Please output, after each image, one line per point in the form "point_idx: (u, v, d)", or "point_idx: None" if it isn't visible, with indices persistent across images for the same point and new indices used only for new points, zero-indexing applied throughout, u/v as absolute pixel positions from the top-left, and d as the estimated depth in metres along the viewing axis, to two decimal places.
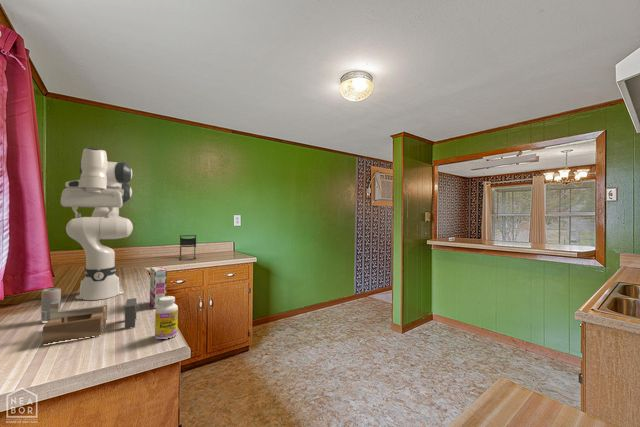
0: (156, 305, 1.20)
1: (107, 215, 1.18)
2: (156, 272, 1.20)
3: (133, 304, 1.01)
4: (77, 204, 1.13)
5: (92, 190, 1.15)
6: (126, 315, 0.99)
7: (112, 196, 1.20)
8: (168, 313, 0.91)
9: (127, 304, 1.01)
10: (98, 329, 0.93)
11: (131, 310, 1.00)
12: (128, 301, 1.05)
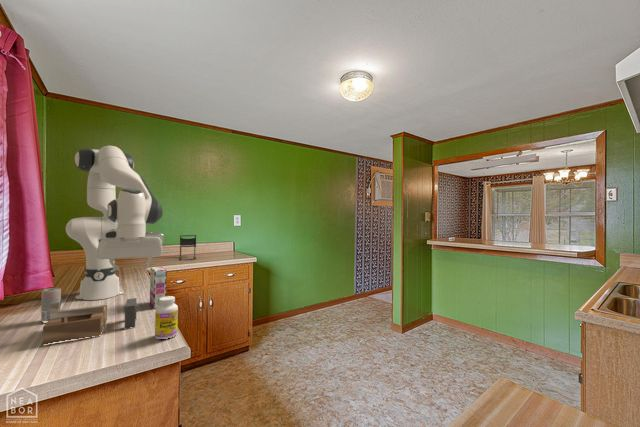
0: (156, 305, 1.20)
1: (147, 266, 1.06)
2: (156, 272, 1.20)
3: (133, 304, 1.01)
4: (115, 257, 1.00)
5: (131, 240, 1.01)
6: (126, 315, 0.99)
7: (152, 244, 1.06)
8: (168, 313, 0.91)
9: (127, 304, 1.01)
10: (98, 329, 0.93)
11: (131, 310, 1.00)
12: (128, 301, 1.05)
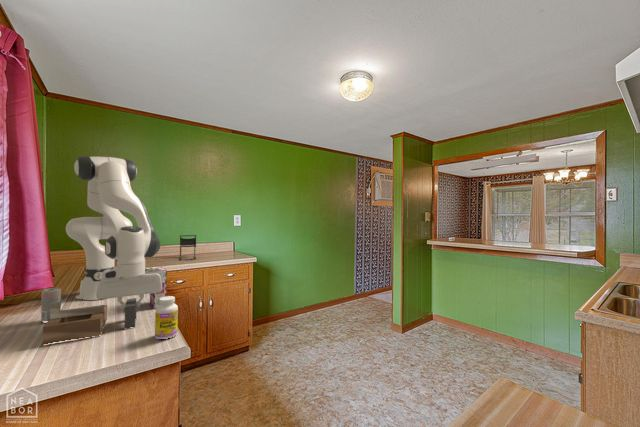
0: (156, 305, 1.20)
1: (138, 304, 1.04)
2: None
3: (133, 304, 1.01)
4: (114, 296, 1.00)
5: (130, 278, 1.01)
6: (126, 315, 0.99)
7: (151, 281, 1.06)
8: (168, 313, 0.91)
9: (127, 304, 1.01)
10: (98, 329, 0.93)
11: (131, 310, 1.00)
12: (128, 301, 1.05)
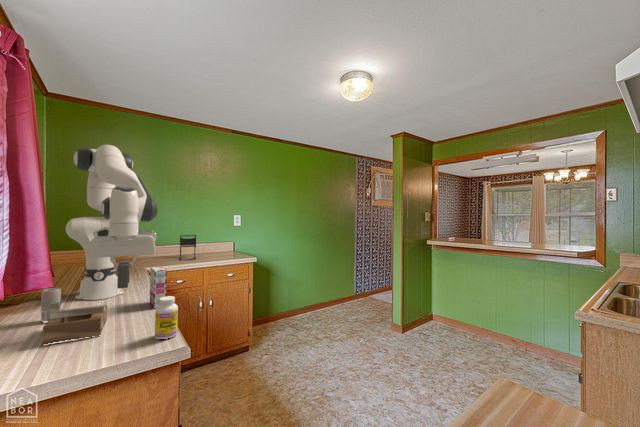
0: (156, 305, 1.20)
1: (131, 265, 1.03)
2: (156, 272, 1.20)
3: (126, 264, 1.00)
4: (107, 255, 0.99)
5: (123, 238, 1.00)
6: (119, 274, 0.98)
7: (145, 243, 1.05)
8: (168, 313, 0.91)
9: (120, 264, 1.00)
10: (98, 329, 0.93)
11: (124, 270, 0.99)
12: (121, 262, 1.04)
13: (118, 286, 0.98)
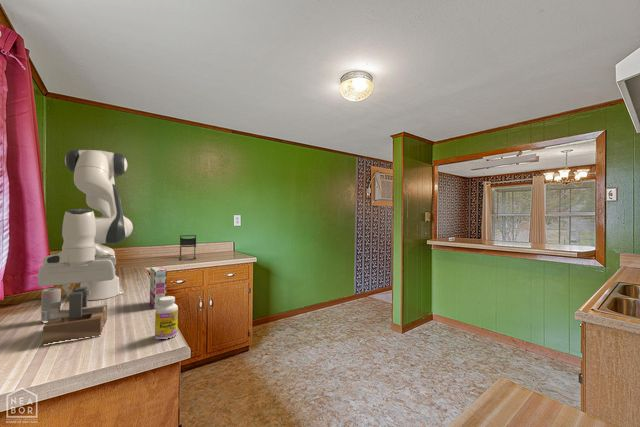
0: (156, 305, 1.20)
1: (87, 292, 0.97)
2: (156, 272, 1.20)
3: (80, 292, 0.93)
4: (58, 283, 0.92)
5: (77, 264, 0.94)
6: (71, 304, 0.91)
7: (102, 268, 0.98)
8: (168, 313, 0.91)
9: (73, 292, 0.93)
10: (98, 329, 0.93)
11: (76, 298, 0.92)
12: (76, 289, 0.97)
13: (70, 316, 0.91)
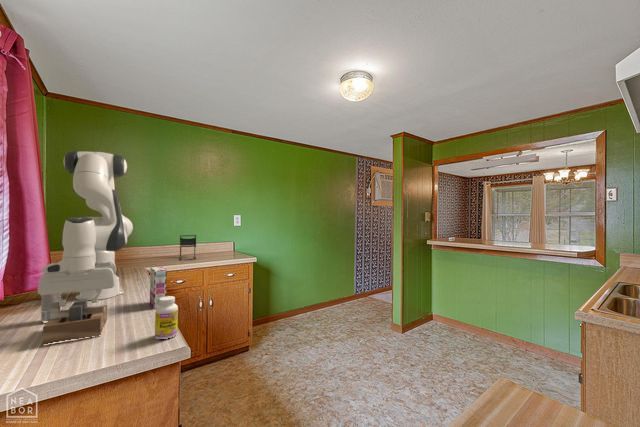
0: (156, 305, 1.20)
1: (95, 300, 0.98)
2: (156, 272, 1.20)
3: (79, 305, 0.94)
4: (59, 292, 0.92)
5: (77, 273, 0.94)
6: (70, 317, 0.91)
7: (102, 276, 0.98)
8: (168, 313, 0.91)
9: (73, 305, 0.94)
10: (98, 329, 0.93)
11: (76, 312, 0.92)
12: (76, 302, 0.97)
13: None
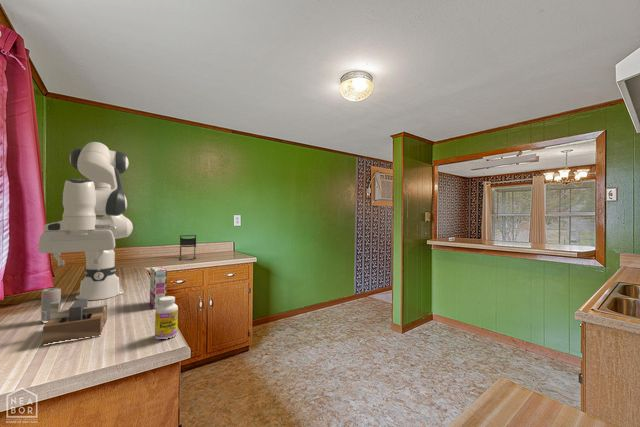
0: (156, 305, 1.20)
1: (97, 260, 0.99)
2: (156, 272, 1.20)
3: (79, 305, 0.94)
4: (59, 250, 0.93)
5: (77, 232, 0.95)
6: (70, 317, 0.91)
7: (102, 238, 0.99)
8: (168, 313, 0.91)
9: (73, 305, 0.94)
10: (98, 329, 0.93)
11: (76, 312, 0.92)
12: (76, 302, 0.97)
13: None
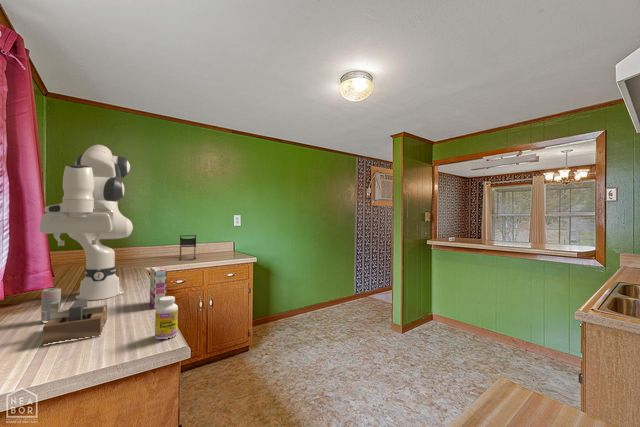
0: (156, 305, 1.20)
1: (94, 242, 1.05)
2: (156, 272, 1.20)
3: (79, 305, 0.94)
4: (59, 231, 0.99)
5: (76, 215, 1.01)
6: (70, 317, 0.91)
7: (100, 220, 1.05)
8: (168, 313, 0.91)
9: (73, 305, 0.94)
10: (98, 329, 0.93)
11: (76, 312, 0.92)
12: (76, 302, 0.97)
13: None
